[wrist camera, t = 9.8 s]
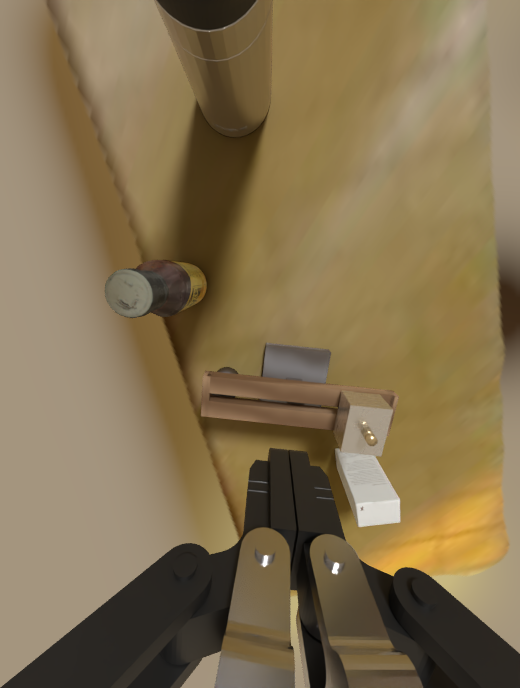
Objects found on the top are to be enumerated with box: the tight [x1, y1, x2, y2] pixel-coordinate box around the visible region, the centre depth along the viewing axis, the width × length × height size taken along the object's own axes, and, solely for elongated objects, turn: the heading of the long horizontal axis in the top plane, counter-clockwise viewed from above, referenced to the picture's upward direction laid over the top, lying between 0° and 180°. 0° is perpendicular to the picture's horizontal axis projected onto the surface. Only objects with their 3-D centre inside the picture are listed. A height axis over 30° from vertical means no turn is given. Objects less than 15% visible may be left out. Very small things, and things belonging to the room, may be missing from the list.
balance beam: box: [201, 343, 399, 436], centre depth 41 cm, size 12×26×9 cm, turn 84°
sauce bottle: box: [105, 260, 207, 318], centre depth 32 cm, size 6×6×20 cm
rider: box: [333, 391, 393, 456], centre depth 35 cm, size 6×5×8 cm
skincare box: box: [335, 448, 400, 527], centre depth 44 cm, size 6×4×12 cm
